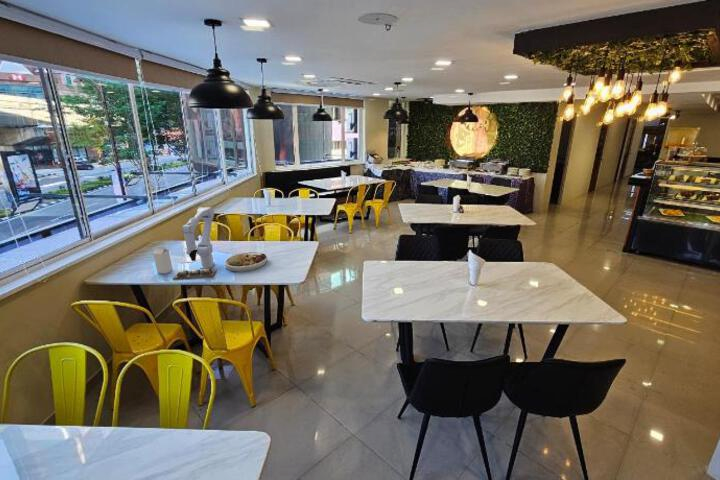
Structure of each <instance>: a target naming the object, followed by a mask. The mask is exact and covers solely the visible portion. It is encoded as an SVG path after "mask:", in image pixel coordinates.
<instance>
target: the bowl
mask: <svg viewBox="0 0 720 480" xmlns="http://www.w3.org/2000/svg"><path fill="white" fill-rule="evenodd" d="M267 260H268V256H267V254H266V253H264V252H258V251H252V252H251V251H249V252H247V251H246V252H242V253H237V254H234V255H231V256H229V257H227V258H226V259H225V260H224V266H225V268H226V269H228V270H230V271H232V272H239V273H241V272H250V271H253V270H254V271H255V270H258V269H260V268H262V267H263V266H264V265H265V264H266V263H267Z"/></svg>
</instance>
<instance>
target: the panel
mask: <svg viewBox="0 0 720 480" xmlns="http://www.w3.org/2000/svg"><path fill="white" fill-rule="evenodd" d="M204 269H205V268H202V269H197V272H196V273H192V270H193V269H191V270H187V269H186V270H185V269H184V270H185V273H181V274H180V272H179V271H178V272H177V273H176V275H175V276H174V277H173V279H172V280H174V281H175V280H176V281H177V280H179V281H180V280H190V279H191V280H192V279H203V278H204V279H205V278H214V276H215V274H216V273H217V272H218V269H217V268H216V269H212V268H208V269H209V272H204Z"/></svg>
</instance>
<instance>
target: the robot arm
mask: <svg viewBox="0 0 720 480" xmlns="http://www.w3.org/2000/svg"><path fill="white" fill-rule="evenodd" d="M214 216H215V211H214V209H213V207H212V206H210V207H209V206H207V207H201V206H200V207H198V208H197V209H196V214H195V215H194V216H193V217H191V218H189V220H188V222H187V223H186V224H183V225H182V227H181V233H182V234H183V236H184V240H185V245H186V246H185V247H186V248H185V249H184V250H186V252H185V253H186V255H188V256H189V257H190V260H191V261H192V262H195V261H196V260H197V255H198V256H199V257H200V262H201V266H200V269H212V268H213V266H214V265H215V262H214V257H213V251H214V250H213V244H212V243H211V242H210V238H211V229H212V225H213V220H214V218H215V217H214ZM200 220H203V228H202V235H201V236H202V237H201V241H200V242H199V243H198V244H196V238H195V231H196V227H197V226H198V225H199V223H200V222H199V221H200Z"/></svg>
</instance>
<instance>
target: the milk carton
mask: <svg viewBox="0 0 720 480" xmlns="http://www.w3.org/2000/svg"><path fill="white" fill-rule="evenodd" d="M152 256H153V259H154V260H153V261H154V264H155V268H156V272H157V274H168V273H170V272H172V271H173V265H172V259H171V255H170V250H168V249H167V248H165V246H155V248H154V250H153V252H152Z"/></svg>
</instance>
